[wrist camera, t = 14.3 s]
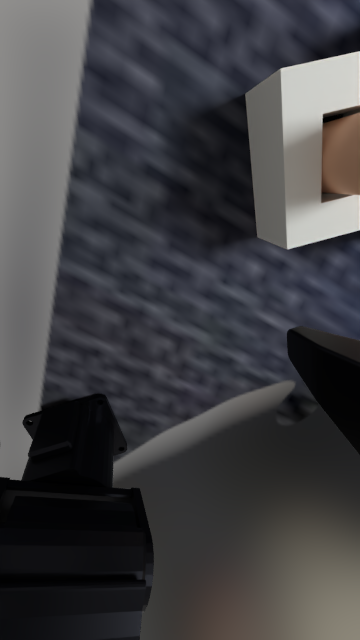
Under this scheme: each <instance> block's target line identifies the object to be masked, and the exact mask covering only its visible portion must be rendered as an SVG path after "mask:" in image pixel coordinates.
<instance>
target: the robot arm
mask: <svg viewBox="0 0 360 640" xmlns="http://www.w3.org/2000/svg"><path fill="white" fill-rule="evenodd" d="M287 348H288V356H289V358H290V360H291V362H292V364H293V365H294V367H295V368H296V370H297V371H298V373H299V375H300V376H301V378H302V379H303V381H304V383H305V384H306V386H307V387H308V389H309V390H310V392H311V394H312V395H313V397H314V398H315V399H316V401H317V402H318V404H319V405H320V406H321V407H322V409H323V410H324V411H325V412H326V414H327V415H328V416H329V417H330V419H331V420H332V421H333V422H334V424H335V425H336V426H337V427H338V429H339V430H340V431H341V432H342V433H343V435H344V436H345V437H346V438H347V440H348V441H349V442H350V444H351V445H352V446H353V447H354V449H355V450H356V451H357V452H358V454H359V455H360V341H359V340H355V339H351V338H347V337H343V336H339V335H335V334H331V333H327V332H323V331H319V330H315V329H311V328H307V327H303V326H299V327H296V328H292V329H289V330H288V332H287ZM98 400H102V401H101V402H99V401H98ZM30 421H32V422H30ZM23 425H24V427H25V428H26V430H27V431H28V433H29V435H30V436H31V438H32V439H33V441H32V444H31V447H30V450H29V453H28V457H29V459H28V462H27V465H26V468H25V471H24V474H23V477H22V480H21V481H20V480H10V478H4V477H0V640H140V629H141V617H142V613H143V612H144V611H145V609H146V607H147V605H148V601H149V598H150V593H151V588H152V579H153V566H154V553H153V543H152V537H151V532H150V528H149V524H148V520H147V516H146V512H145V508H144V504H143V500H142V496H141V492H140V489H139V488H131V489H123V488H113V456H114V455H117V454H121V453H124V452H125V451H126V450H127V443H126V440H125V438H124V436H123V434H122V431H121V429H120V427H119V424H118V422H117V420H116V418H115V415H114V413H113V411H112V408H111V406H110V404H109V402H108V399H107V397H106V396H105V395H103V394H98V395H94V396H91V397H87V398H84V399H80V400H77V401H73V402H69V403H66V404H62V405H59V406H55V407H52V408H49V409H45V410H43V411H39V412H36V413H32V414H29V415H26V416H25V417H24V420H23Z"/></svg>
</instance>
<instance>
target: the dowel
mask: <svg viewBox="0 0 360 640" xmlns="http://www.w3.org/2000/svg"><path fill="white" fill-rule="evenodd" d="M321 193H330V194H349V195H360V113H357V114H353V115H350V116H346V117H343V118H340V119H336V120H333V121H329V122H326V123H323V124H322V180H321Z"/></svg>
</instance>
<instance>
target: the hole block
mask: <svg viewBox="0 0 360 640" xmlns="http://www.w3.org/2000/svg"><path fill="white" fill-rule="evenodd" d="M245 97H246V109H247V121H248V133H249V145H250V157H251V168H252V180H253V192H254V204H255V216H256V228H257V237H258V238H260V239H263V240H265V241H268V242H270V243H272V244H275V245H277V246H280V247H282V248H285V249H291V248H295V247H299V246H302V245H306V244H310V243H314V242H317V241H321V240H325V239H329V238H332V237H336V236H340V235H344V234H347V233H351V232H355V231H359V230H360V195H349V194H330V193H321V180H322V122H323V118H325V117H330V116H334V115H338V114H342V113H343V117H346V116H350V115H353V114H357V113H360V51H358V52H354V53H349V54H345V55H340V56H335V57H331V58H326V59H322V60H317V61H313V62H308V63H304V64H299V65H295V66H290V67H285V68H281V69H279V70H278V71H277V72H275V73H274V74H272V75H271V76H270V77H268V78H267V79H265V80H264V81H262V82H261V83H260V84H258V85H257V86H255V87H254V88H253V89H251V90H250V91H248V92H247V93H246V94H245Z"/></svg>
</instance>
